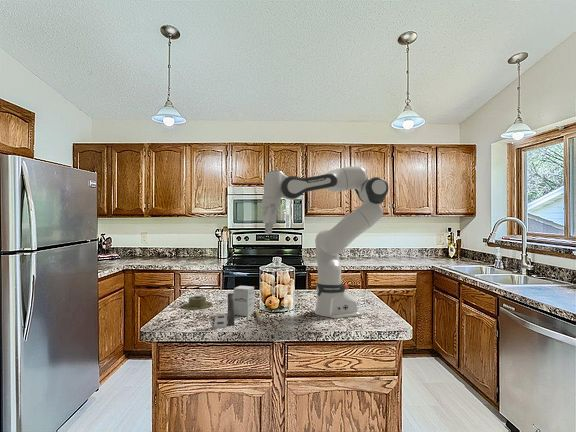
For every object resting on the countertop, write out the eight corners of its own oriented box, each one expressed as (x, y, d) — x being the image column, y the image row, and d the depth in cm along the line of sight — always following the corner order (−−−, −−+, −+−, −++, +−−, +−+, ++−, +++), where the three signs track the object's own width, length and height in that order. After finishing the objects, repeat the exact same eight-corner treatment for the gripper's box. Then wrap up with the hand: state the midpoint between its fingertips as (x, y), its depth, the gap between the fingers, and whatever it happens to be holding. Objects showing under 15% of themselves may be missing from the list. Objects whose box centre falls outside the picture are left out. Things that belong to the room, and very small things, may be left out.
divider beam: (257, 311, 173) (257, 284, 173) (261, 324, 152) (261, 293, 152) (227, 312, 170) (227, 285, 170) (227, 325, 149) (227, 294, 149)
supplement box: (233, 315, 165) (233, 288, 165) (240, 311, 172) (240, 285, 172) (247, 316, 163) (247, 289, 163) (254, 312, 170) (254, 286, 170)
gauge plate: (226, 316, 163) (226, 314, 163) (226, 327, 147) (226, 324, 147) (215, 317, 162) (215, 314, 162) (213, 328, 146) (213, 325, 146)
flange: (181, 295, 187) (183, 302, 173) (210, 293, 192) (214, 299, 178) (181, 304, 187) (183, 311, 173) (210, 302, 192) (214, 309, 178)
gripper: (281, 204, 160) (278, 234, 159) (274, 206, 180) (271, 233, 179) (267, 202, 158) (264, 233, 158) (262, 204, 179) (259, 232, 178)
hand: (268, 233), depth 169 cm, fingers open, 8 cm apart
